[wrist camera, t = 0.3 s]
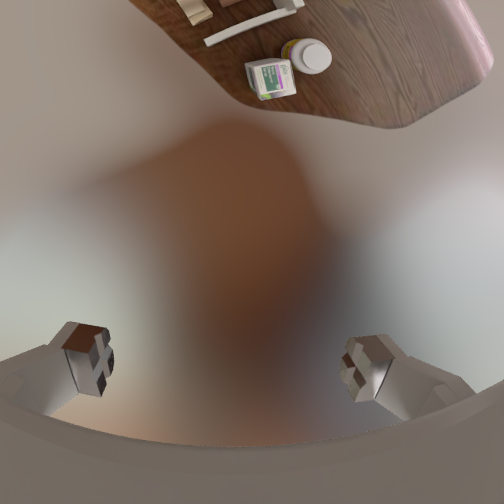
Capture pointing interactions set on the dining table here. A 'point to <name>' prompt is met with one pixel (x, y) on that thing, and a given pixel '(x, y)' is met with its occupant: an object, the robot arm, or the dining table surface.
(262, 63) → the syrup box
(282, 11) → the offcut rack
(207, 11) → the offcut stack
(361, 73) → the dining table surface
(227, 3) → the salmon pink rectangular block
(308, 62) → the supplement bottle
